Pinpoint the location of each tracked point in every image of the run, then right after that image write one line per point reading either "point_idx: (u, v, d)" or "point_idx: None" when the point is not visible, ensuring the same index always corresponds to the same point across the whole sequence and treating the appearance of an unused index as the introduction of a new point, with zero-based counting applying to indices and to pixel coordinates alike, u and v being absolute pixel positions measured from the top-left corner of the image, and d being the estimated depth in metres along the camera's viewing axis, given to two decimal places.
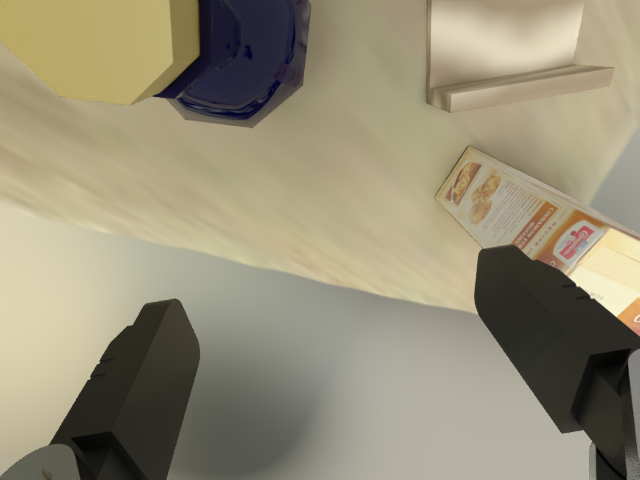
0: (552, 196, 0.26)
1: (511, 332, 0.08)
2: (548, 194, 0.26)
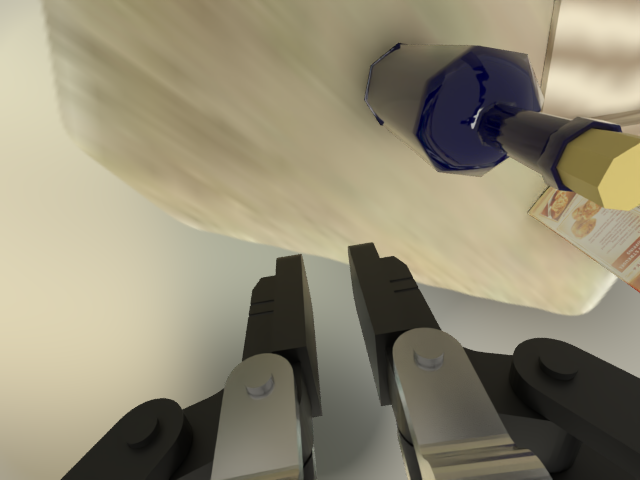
0: None
1: (362, 320, 0.09)
2: None
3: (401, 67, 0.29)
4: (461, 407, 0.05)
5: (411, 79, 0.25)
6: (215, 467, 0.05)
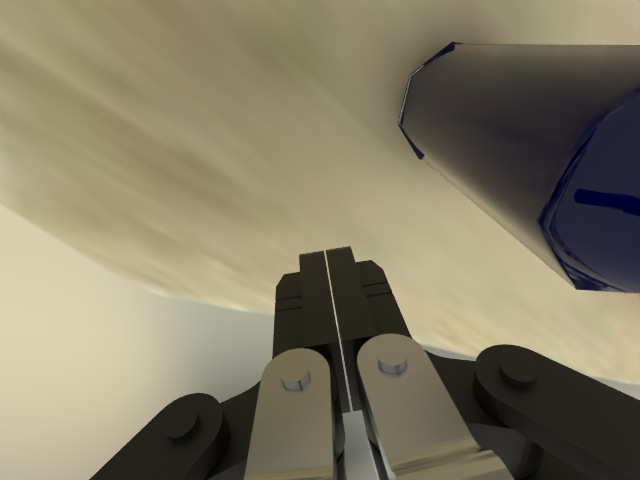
0: None
1: (338, 324, 0.09)
2: None
3: (481, 83, 0.17)
4: (426, 413, 0.05)
5: (522, 110, 0.13)
6: (250, 459, 0.05)
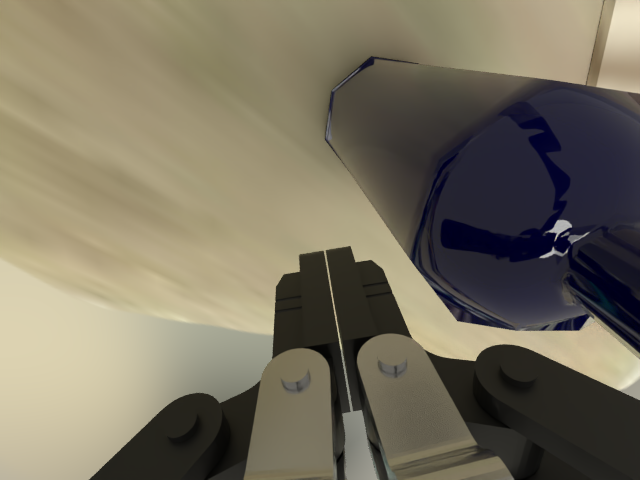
0: None
1: (338, 324, 0.09)
2: None
3: (377, 104, 0.17)
4: (426, 412, 0.05)
5: (397, 138, 0.13)
6: (250, 458, 0.05)
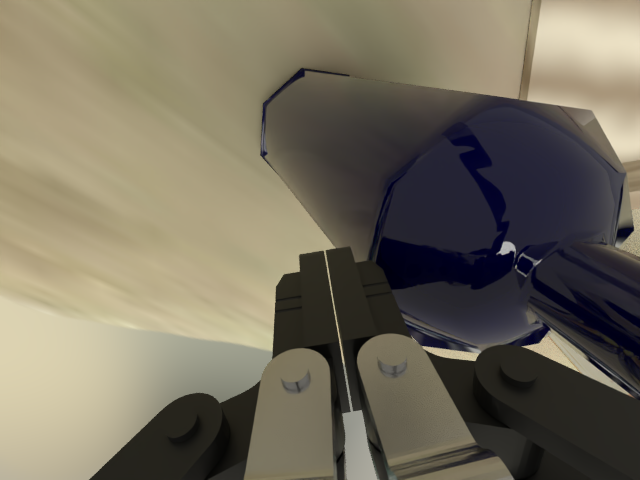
0: None
1: (338, 324, 0.09)
2: None
3: (314, 119, 0.16)
4: (426, 412, 0.05)
5: (341, 157, 0.12)
6: (250, 458, 0.05)
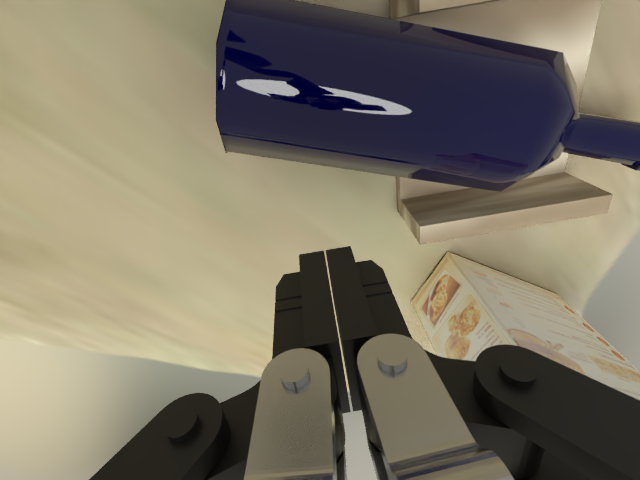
0: None
1: (338, 324, 0.09)
2: None
3: None
4: (426, 413, 0.05)
5: None
6: (249, 458, 0.05)
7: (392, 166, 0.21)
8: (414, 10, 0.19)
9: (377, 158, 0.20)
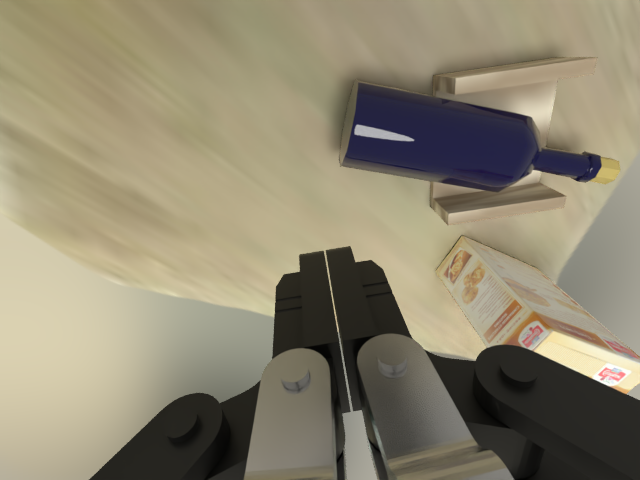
0: (519, 296, 0.37)
1: (338, 324, 0.09)
2: (516, 294, 0.37)
3: None
4: (426, 413, 0.05)
5: (482, 105, 0.37)
6: (249, 458, 0.05)
7: (436, 176, 0.37)
8: (451, 92, 0.35)
9: (428, 171, 0.36)
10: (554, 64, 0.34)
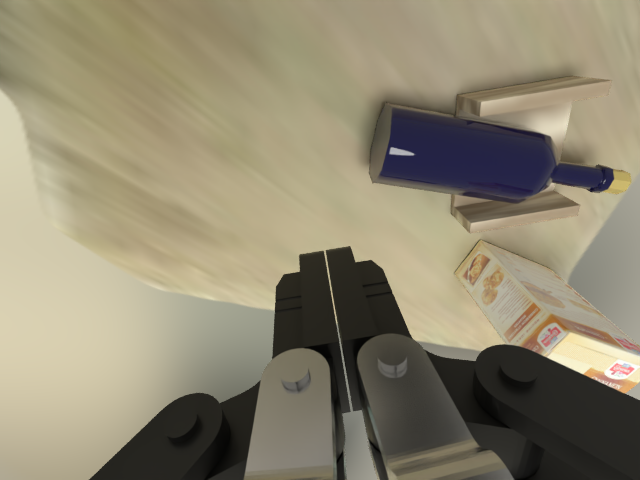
0: (537, 300, 0.40)
1: (338, 324, 0.09)
2: (535, 297, 0.40)
3: None
4: (426, 413, 0.05)
5: (504, 124, 0.40)
6: (250, 458, 0.05)
7: (461, 191, 0.40)
8: (476, 113, 0.38)
9: (454, 187, 0.39)
10: (572, 87, 0.36)
